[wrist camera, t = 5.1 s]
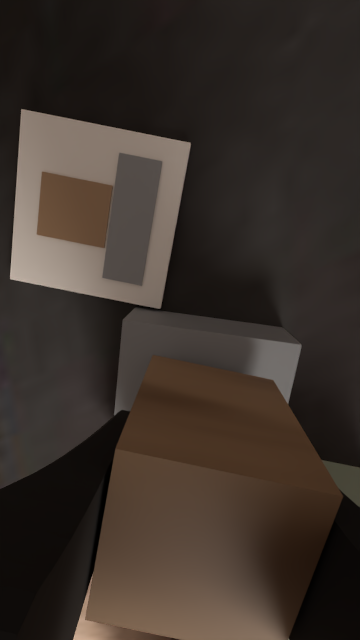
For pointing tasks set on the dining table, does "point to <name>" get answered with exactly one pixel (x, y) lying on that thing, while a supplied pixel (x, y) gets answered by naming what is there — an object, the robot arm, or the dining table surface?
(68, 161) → the card
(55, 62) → the dining table surface
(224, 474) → the walnut block
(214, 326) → the grey square block
